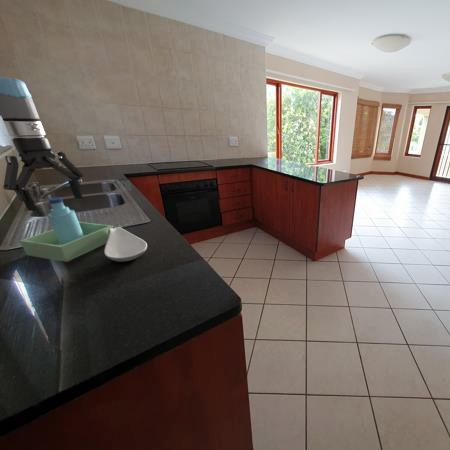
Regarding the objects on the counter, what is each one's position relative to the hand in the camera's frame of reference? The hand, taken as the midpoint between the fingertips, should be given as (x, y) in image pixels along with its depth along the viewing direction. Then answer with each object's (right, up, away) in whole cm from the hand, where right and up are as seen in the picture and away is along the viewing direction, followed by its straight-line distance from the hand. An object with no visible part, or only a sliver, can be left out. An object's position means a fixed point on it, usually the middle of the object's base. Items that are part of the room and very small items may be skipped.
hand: (57, 203), depth 80 cm
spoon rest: (+19, -17, +5) cm, 26 cm away
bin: (0, -16, +7) cm, 17 cm away
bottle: (0, -15, +7) cm, 16 cm away
